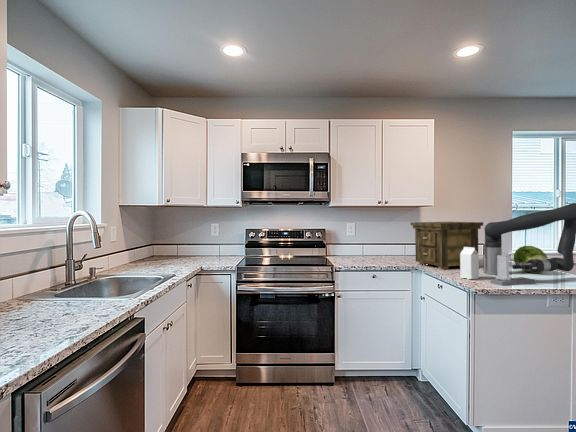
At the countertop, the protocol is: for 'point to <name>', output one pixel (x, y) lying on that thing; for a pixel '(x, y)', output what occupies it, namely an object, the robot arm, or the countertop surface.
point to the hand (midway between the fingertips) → (513, 267)
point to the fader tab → (503, 267)
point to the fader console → (513, 281)
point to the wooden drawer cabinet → (444, 241)
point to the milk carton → (469, 263)
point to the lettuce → (528, 255)
